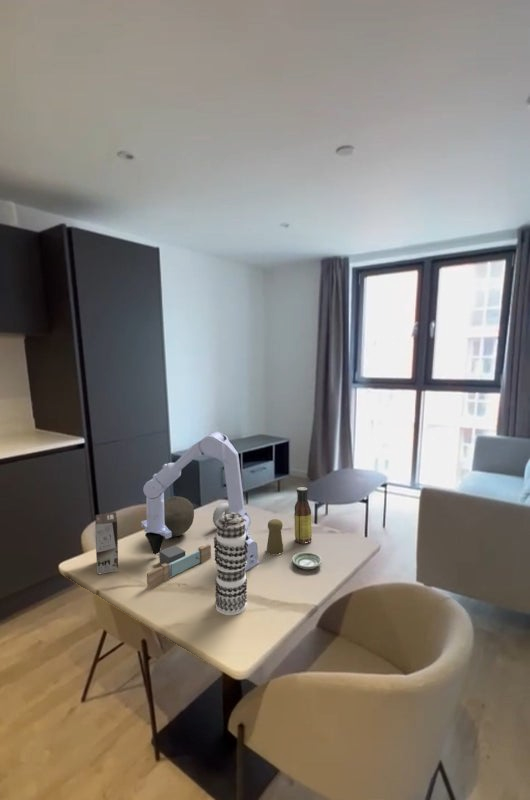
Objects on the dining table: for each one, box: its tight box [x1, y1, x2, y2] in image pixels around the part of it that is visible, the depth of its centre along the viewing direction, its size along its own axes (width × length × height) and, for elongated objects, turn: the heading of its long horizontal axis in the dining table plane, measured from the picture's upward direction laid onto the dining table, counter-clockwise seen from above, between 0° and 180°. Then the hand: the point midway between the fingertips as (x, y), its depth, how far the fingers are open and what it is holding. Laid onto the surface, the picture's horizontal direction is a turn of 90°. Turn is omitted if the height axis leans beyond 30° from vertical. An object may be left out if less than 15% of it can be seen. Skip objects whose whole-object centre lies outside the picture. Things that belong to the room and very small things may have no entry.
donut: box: [212, 502, 229, 528], centre depth 154 cm, size 10×4×10 cm, turn 141°
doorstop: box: [158, 544, 186, 565], centre depth 127 cm, size 6×6×4 cm
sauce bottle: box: [293, 486, 313, 544], centre depth 143 cm, size 7×6×20 cm
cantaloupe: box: [164, 496, 195, 538], centre depth 146 cm, size 14×14×15 cm
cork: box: [266, 518, 284, 555], centre depth 135 cm, size 6×6×11 cm
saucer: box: [291, 551, 323, 570], centre depth 126 cm, size 10×10×2 cm
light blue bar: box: [168, 550, 201, 579], centre depth 122 cm, size 2×12×4 cm, turn 141°
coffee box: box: [94, 511, 119, 575], centre depth 124 cm, size 9×6×16 cm
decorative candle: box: [213, 513, 249, 616], centre depth 103 cm, size 9×9×25 cm
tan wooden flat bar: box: [146, 543, 212, 590], centre depth 121 cm, size 2×24×5 cm, turn 141°
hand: (156, 552), depth 130 cm, fingers closed
